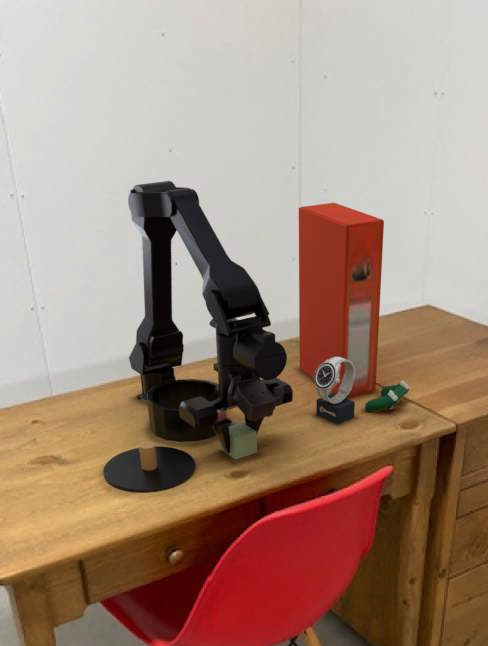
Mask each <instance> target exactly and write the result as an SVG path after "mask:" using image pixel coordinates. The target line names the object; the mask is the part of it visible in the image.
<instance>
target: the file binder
mask: <svg viewBox="0 0 488 646" xmlns="http://www.w3.org/2000/svg"><path fill="white" fill-rule="evenodd" d="M384 229H385V220H384V219H382V218H379V217H377V216H374V215H371V214H368V213H366V212H363V211H359V210H356V209H354V208H350V207H348V206H345V205H343V204H340V203H336V202H328V203H319V204H313V205H305V206H300V207H298V303H299V304H298V306H299V307H298V312H299V313H298V315H299V318H298V319H299V320H298V321H299V324H298V325H299V332H298V333H299V335H298V337H299V369H300V371H302V372H303V373H305V374H306V375H307V376H309V377H310V378H311V379H313V380H314V375H315V372H316V370H317V368H318V367H319V366H320V365H321V364H322V363H324V362H325V361H327V360H329V359H330V358H333V357H341V358H344V359H347V360H349V361H351V362H352V363H353V365H354V368H355V380H354V383H353V386H352V389H351V391H350V393H349V395H347V396H346V397H345V398H347V399H350V398H353V397H358V396H362V395H366V394H369V393H374V391H377V390H376V388H377V386H376V385H377V367H378V348H379V330H380V329H379V327H380V307H381V289H382V287H381V286H382V268H383V249H384V247H383V246H384V233H385V232H384V231H385V230H384ZM340 364H341V368H340V371H339V379H340V382H339V383H337V384H336V386H335V387H334V388H333V389H332V390H331V393H335V394H338V392H339V390H338V389H339V387H340V385H341V382H342V379H343V376H344V374H345V372H346V366H345V363H344V362H342V363H340Z"/></svg>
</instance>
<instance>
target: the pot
mask: <svg viewBox="0 0 488 646" xmlns="http://www.w3.org/2000/svg"><path fill="white" fill-rule="evenodd" d="M217 387H219V383H218V382H214V381H210V380H206V379H198V378H185V379H184V378H182V379H176V380H175V381H170V382H165V383H163V384H160V385H158V386H156V387H154V388H153V389H151V390H150V391H149V392H148V395H147V400H146V401H147V411H148V419H149V421H148V422H149V428H150V431H151V432H152V433H153V434H154V436H156V437H158V438H160V439H163V440H165V441H169V442H170V441H171V442H176V443H177V442H178V443H188V442H189V443H190V442H199V441H203V440H208V439H211V438H213V437H215V436H217V435H216V433H215V431H214V429H213V428H212V426H207V427H204V428H200V429H199V428H194V427H193V426H192V425H190V424H189V423H187V422H186V421H185V420H183V419H182V418H180V414H179V406H180V404H181V403H182V401H185V400H189V399H192V398H196V397H200V396H201V397H203V398H204V399H206V400H207V401H209V402H212V401H215V400H219V396H218V395H216V394H215V388H217Z"/></svg>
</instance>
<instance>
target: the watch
mask: <svg viewBox="0 0 488 646" xmlns="http://www.w3.org/2000/svg"><path fill="white" fill-rule="evenodd" d="M342 362H344V363H345V366H346V372H345V374H344V376H343V379H342V382H341V385H340V387H339V389H338V390H339V392H338V394H335V393H333V392H331V390H332V389H333V388H334V387H335V386H336V384H337V383H339V382H340V379H339V371H340V368H341V364H340V363H342ZM354 380H355V368H354V365H353V363H352V362H351V361H349V360H347V359H344V358H341V357H333V358H330V359H329V360H327V361H325V362H324V363H322V364H321V365H320V366H319V367H318V368H317V370H316V372H315V375H314V379H313V381H314V382H313V383H314V385H315V390H316V392H317V395H318V396H319V398H317V399H316V408H315V409H316V410H315V411H316V412H315V413H316V414H315V415H316V416H318V417H320V418H322V419H324V420H326V421H329V422H330V423H333V424H335V425H340V424H342V423H344V422H348V421H350V420H352V419H354V418H355V409H356V408H355V407H356V406H355V405H356V401H354V400H352V399H350V398H345V397H346V396H347V395H349V393H350V391H351V389H352V386H353V383H354Z"/></svg>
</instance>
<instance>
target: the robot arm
mask: <svg viewBox="0 0 488 646" xmlns="http://www.w3.org/2000/svg"><path fill="white" fill-rule="evenodd" d="M127 203H128V209H129V211H130V215H131V221H132V224H133V225H134V226H135V228H136V229H137V232H138V233H139V234H140V236H141V241H142V242H141V243H142V270H143V271H142V272H143V275H142V276H143V299H144V301H143V302H144V317H143V319H142V320H141V322H140V324H139V326H138V327H137V329H136V335H135V337H136V338H135V344H134V347H133V349H132V350H131V352H130V354H129V356H128V360H129V364H130V369H132V370H133V371H134V372H136V373H137V374H139V375H140V383H141V393H138V394H137V395H136V399H138V400H144V401H147V395H148V392H149V391H150V390H151V389H153V388H154V387H156V386H158V385H160V384H163V383H165V382H170V381H175V380H177V379H176V376H175V367H176V368H177V367H181V366H182V363H183V357H184V351H185V350H184V333H183V332H182V331H181V330H180V329H179V327H178V326H177V324H176V323H175V322H174V320H173V284H172V283H173V278H172V277H173V276H172V275H173V274H172V273H173V271H172V270H173V269H172V268H173V267H172V266H173V265H172V264H173V263H172V262H173V261H172V259H173V258H172V240H173V238H174V236H175V235H176V233H178V235H179V237H180V238H181V241H182V242H183V244H184V246H185V248H186V250H187V252H188V253H189V255H190V257H191V259H192V261H193V262H194V265H195V266H196V268H197V270H198V272H199V273H200V277H201V278H202V280H203V281H202V290H201V295H202V297H203V300H204V301H205V306H206V309H207V311H208V313H209V315H210V316H211V320H210V321H209V322H208V323H209V325H210V326H209V327H212V328H213V329H215V343H216V361H217V362H215V363H213V371H215V372H216V373H217V380H218V382H217V383H218V384H219V387H217V388H215V394H216V395H218V396H219V400H215V401H212V402H209V401H207V400H206V399H204V398H203V397H201V396H200V397H196V398H192V399H189V400H185V401H182V403H181V404H180V406H179V414H180V418H182V419H183V420H185V421H186V422H187V423H189V424H190V425H192V426H193V427H194V428H199V429H200V428H204V427H207V426H212V428H213V429H214V431H215V433H216V435H215V436H216V437H217V438H218V441H219V443H220V445H222V447H223V448H224V450H225V452H224V453H226V452H227V453H230V435H229V426H231V424H232V423H233V420H231V419H230V418H228V414H227V411H228V410H231V409H235V408H238V409H239V410H240V411H241V413H242V414H243V415H244V424H246V425H247V426H249V427H250V428H252V429H253V430H255V431H257V435H258V434H259V432H260V431H259V430H260V428H261V425H262V423H263V421H264V418H270V417H272V416H273V414H274V411H275V410H276V407H279V406H282V405H286V404H289V403H292V402H293V400H294V390H293V388H292V386H291V385H290V384H289V383H287V382H285V381H284V380H282V379H280V378H278V377H279V376H280V375H281V374H282V373H283V372H284V369H285V368H286V365H287V361H288V354H287V352H286V349H285V347H284V345H282V344H281V343H279V342H277V341H276V333H274V332H273V331H268V330H266V329H264V328H268V327H271V325H272V322H271V319H270V317H269V315H270V312H269V310H268V307H267V306H266V303H265V301H264V299H263V298H262V295H261V292H260V290H259V288H258V287H259V286H258V285H257V284H256V282H255V281H254V279H253V278H252V277H251V276H250V274H249V272H248V271H247V270H246V269H245V268H244V267H243V266H241V265H240V264H238V263H236V262H234V261H233V260H232V259H231V257H229V255H228V254H227V252H226V250H225V248H224V247H223V244H222V243H221V241H220V239H219V238H218V235H217V234H216V232H215V230H214V228H213V227H212V225H211V223H210V221H209V219H208V218H207V216H206V214H205V212H204V210H203V209H202V207H201V205H200V198H199V195H198V193H197V191H196V190H195V189H193V188H190V187H187V186H186V187H182V186H176V184H175V183H174V182H173V181H171V180H165V181H164V180H163V181H156V182H148V183H147V182H146V183H141V184H139V183H138V184H135V185H134V186H133V188H132V189H130V191H129V194H128V197H127ZM251 315H254V316H251ZM247 316H250V317H247ZM243 317H245V318H243ZM238 318H242V319H238ZM222 447H221V448H222ZM227 453H226V454H227Z"/></svg>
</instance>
